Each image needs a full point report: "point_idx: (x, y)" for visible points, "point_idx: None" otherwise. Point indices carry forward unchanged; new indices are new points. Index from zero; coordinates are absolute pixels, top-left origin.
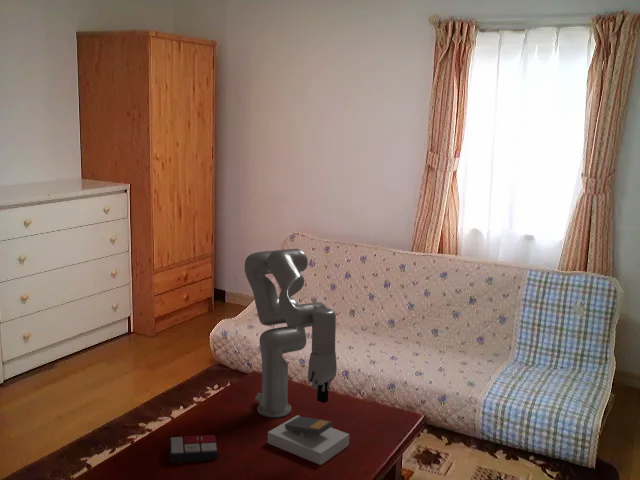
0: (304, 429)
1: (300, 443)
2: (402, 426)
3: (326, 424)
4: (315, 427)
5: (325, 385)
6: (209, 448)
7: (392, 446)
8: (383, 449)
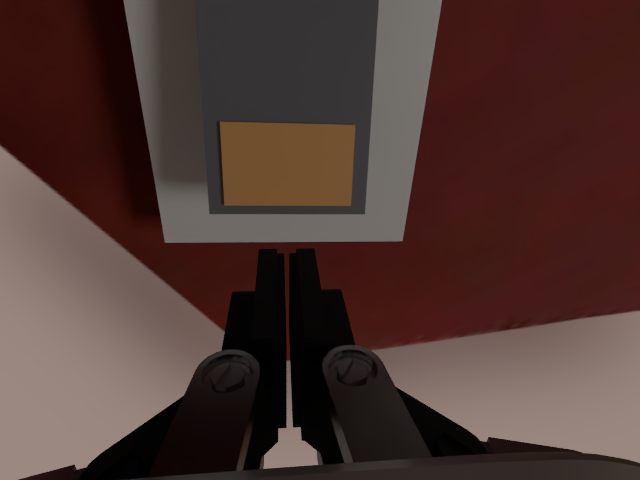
0: (203, 94)
1: (157, 100)
2: (619, 288)
3: (311, 206)
4: (235, 173)
5: (339, 455)
6: None
7: (460, 328)
8: (426, 318)
